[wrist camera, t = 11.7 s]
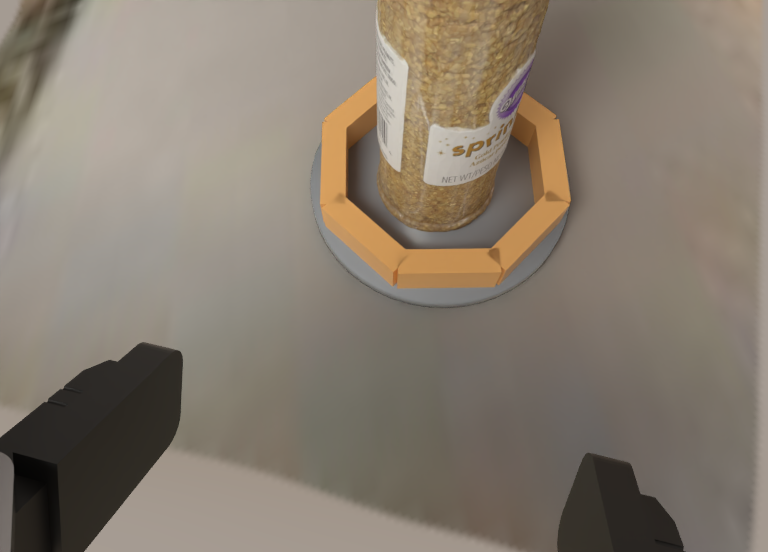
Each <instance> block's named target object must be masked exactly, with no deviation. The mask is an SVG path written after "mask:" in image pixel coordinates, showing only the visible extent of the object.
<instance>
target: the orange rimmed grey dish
mask: <svg viewBox="0 0 768 552" xmlns="http://www.w3.org/2000/svg"><path fill="white" fill-rule="evenodd" d="M324 120H325V122H322V140H321V143H320V145H319V147H318V150H317V152H316V155H315V159H314V162H313V166H312V173H311V199H312V204H313V210H314V214H315V219H316V222H317V225H318V227H319V230H320V233H321V235H322V237H323V239H324V241H325V243H326V245H327V247H328V248H329V249H330V251H331V252H332V254H333V255H334V256H335V258H336V259H337V260H338V262H339V263H340V264H341V265H342V266H343V267H344V268H345V269H346V270H347V271H348V272H349V273H350V274H352V275H353V276H354V277H355V278H357V279H358V280H359V281H360V282H362V283H363V284H365V285H366V286H368V287H370V288H371V289H373V290H375V291H376V292H378V293H381V294H383V295H385V296H387V297H390V298H392V299H395V300H398V301H401V302H405V303H408V304H413V305H418V306H424V307H437V308H451V307H463V306H468V305H473V304H478V303H482V302H485V301H488V300H491V299H494V298H496V297H499V296H501V295H503V294H505V293H507V292H509V291H511V290H512V289H514V288H515V287H517V286H518V285H520V284H521V283H523V282H524V281H526V280H527V279H528V278H529V277H530V276H531V275H532V274H533V273H534V272H536V271H537V270H538V269H539V267H540V266H541V265H542V264H543V262H544V261H545V260H546V259H547V258H548V256H549V254H550V253H551V251H552V249H553V248H554V246H555V244H556V243H557V241H558V239H559V238H560V235H561V233H562V231H563V228H564V226H565V223H566V219H567V215H568V210H569V206H570V205H569V204H570V202H571V198H570V185H569V176H568V172H567V167H566V164H565V157H564V150H563V143H562V136H561V130H560V123H559V119H556V115H555V114H554V113H552V112H551V111H549V110H548V109H547V108H545V107H544V106H543V105H541V104H540V103H538V102H537V101H536V100H534V99H533V98H532V97H530V96H529V95H528V94H526V93H525V92H523V95H522V98H521V101H520V105H519V108H518V111H517V115H516V118H515V121H514V124H513V127H512V130H511V133H510V137H509V140H508V143H507V146H506V149H505V151H504V153H503V155H502V156H501V159H500V162H499V166H498V169H497V171H496V176H495V186H494V192H493V195H492V198H491V201H490V203H489V205H488V206H487V207H486V209H485V211H484V212H483V213H482V214H480V215H479V216H478V217H477V219H475V220H472V222H471V223H469V224H467V225H466V226H464V227H462V228H460V229H457V230H450V231H447V232H426V231H420V230H417V229H414V228H410V227H408V226H406V225H405V224H403V223H402V222H401V221H399V220H398V219H397V218H396V217H395V216H393V215H392V214H391V213H390V211H389V210H388V209H387V208H386V206H385V205H384V203H383V202H382V200H381V197H380V195H379V191H378V187H377V171H378V166H379V163H380V145H379V142H378V136H377V76H375V77H374V78H373V79H372V80H371V81H369V82H368V83H367V84H366V85H364V86H363V87H362V88H361V89H360V90H358V91H357V92H356V93H355V94H354V95H352V96H351V97H350V98H349V99H347V100H346V101H345V102H344V103H343V104H341V105H340V106H339V107H338V108H336V109H335V110H334V111H333V112H332V113H330V114H329V115H328V116H327V117H325V118H324Z"/></svg>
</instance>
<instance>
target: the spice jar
mask: <svg viewBox="0 0 768 552" xmlns="http://www.w3.org/2000/svg"><path fill="white" fill-rule="evenodd" d="M548 4H549V0H378V2H377V7H376V75H377V136H378V142H379V145H380V163H379V166H378V171H377V187H378V191H379V195H380V197H381V200H382V202H383V203H384V205H385V206H386V208H387V209H388V210H389V211H390V213H391V214H392V215H393V216H395V217H396V218H397V219H398V220H399V221H401V222H402V223H403V224H405V225H406V226H408V227H410V228H414V229H417V230H420V231H426V232H447V231H450V230H457V229H460V228H462V227H464V226H466V225H467V224H469V223H471V222H472V220H475V219H477V217H478V216H479V215H480V214H482V213H483V212H484V211H485V209H486V207H487V206H488V205H489V203H490V201H491V198H492V195H493V192H494V186H495V176H496V171H497V169H498V166H499V162H500V159H501V156H502V155H503V153H504V151H505V149H506V146H507V143H508V140H509V137H510V133H511V130H512V127H513V124H514V121H515V118H516V115H517V111H518V108H519V105H520V101H521V98H522V95H523V92H524V89H525V85H526V82H527V79H528V76H529V72H530V69H531V66H532V63H533V60H534V57H535V53H536V43H537V39H538V37H539V34H540V32H541V28H542V24H543V20H544V17H545V14H546V11H547V8H548Z"/></svg>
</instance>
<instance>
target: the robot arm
mask: <svg viewBox="0 0 768 552" xmlns="http://www.w3.org/2000/svg"><path fill="white" fill-rule="evenodd" d="M182 369H183V358H182V354H181V352H180V351H178V350H174V349H170V348H166V347H162V346H157V345H153V344H149V343H145V342H142V343H140V344H138V345H137V346H136V347H135V348H133V349H132V350H131V351H130V352H129V353H128V354H126V355H125V356H124V357H123V358H122V359H121V360H119V361H118V362H116V361H112V360H108V361H106V362H103V363H101V364H98V365H96V366H93V367H91V368H89V369H86V370H84V371H82V372H81V373H80V374H79V375H77V376H76V377H75V378H74V379H72V380H71V381H70V382H69V383H67V384H66V385H65V386H64V389H63V390H62V389H60V390H59V391H57V392H56V393H55V394H54V395H53V396H51V397H50V398H49V399H48V402H47V403H46V402H44V403H43V404H41V405H40V406H39V407H38V408H36V409H35V410H34V411H33V412H31V413H30V414H29V415H28V416H26V417H25V418H24V419H23V420H22V421H20V422H19V423H18V424H17V425H15V426H14V427H13V428H12V429H10V430H9V431H8V432H7V433H5V434H4V435H3V436H2V437H1V438H0V552H84V551H85V550H86V548H87V547H88V546H89V545H90V544H91V542H92V541H93V540H94V539H95V537H96V536H97V535H98V534H99V532H100V531H101V530H102V529H103V527H104V526H105V525H106V524H107V522H108V521H109V520H110V519H111V517H112V516H113V515H114V514H115V512H116V511H117V510H118V509H119V508H120V506H121V505H122V504H123V503H124V501H125V500H126V499H127V497H128V496H129V495H130V494H131V492H132V491H133V490H134V489H135V488H136V486H137V485H138V484H139V483H140V481H141V480H142V479H143V477H144V476H145V475H146V474H147V473H148V471H149V470H150V469H151V467H152V466H153V465H154V464H155V463H156V461H157V460H158V459H159V458H160V456H161V455H162V454H163V453H164V451H165V450H166V449H167V448H168V446H169V445H170V443H171V442H172V440H173V438H174V436H175V434H176V431H177V428H178V425H179V421H180V413H181V391H182ZM557 546H558V552H685V551H683V547H684V546H683V543H682V541H681V538H680V535H679V532H678V530H677V527H676V524H675V522H674V521H673V519H672V518H671V517H670V516H669V514H668V513H667V512H666V511H665V509H664V508H663V507H662V506H661V504H660V503H659V502H658V501H657V499H656V498H654V497H650V496H646V495H642V494H640V492H639V488H638V485H637V482H636V479H635V476H634V472H633V469H632V467H631V465H630V463H628V462H624V461H620V460H616V459H612V458H608V457H604V456H600V455H596V454H592V453H587V454H586V455H585V456H584V458H583V459H582V462H581V464H580V467H579V470H578V472H577V475H576V478H575V480H574V483H573V486H572V488H571V491H570V494H569V497H568V499H567V502H566V505H565V507H564V510H563V513H562V516H561V519H560V524H559V530H558V542H557Z"/></svg>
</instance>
